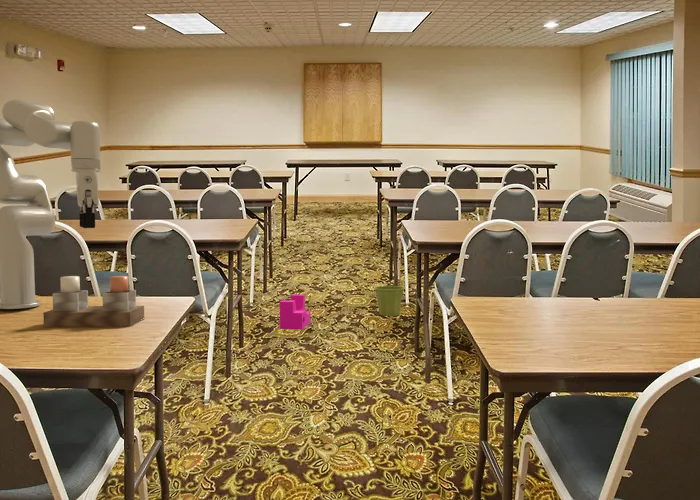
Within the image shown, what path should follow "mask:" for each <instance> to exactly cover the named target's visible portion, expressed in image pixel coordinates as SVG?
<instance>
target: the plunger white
mask: <svg viewBox="0 0 700 500" xmlns="http://www.w3.org/2000/svg"><path fill="white" fill-rule="evenodd" d="M80 279H81V278H80V275H79V276H78V275H68V276H67V275H65V276H61V277H60V281H59V282H60V291H61V293H78V292H80V290H81V284H80V283H81V281H80Z"/></svg>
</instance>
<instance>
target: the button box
mask: <svg viewBox="0 0 700 500" xmlns="http://www.w3.org/2000/svg"><path fill="white" fill-rule="evenodd" d="M101 296H102V305H89V290H87V289H86V290H85V289H84V290H83V289H82V290H81V289H80V292H78V293H61V290H60V291H57V292H53V293H52V309H50V310H47V311H45V312H43V327H45V328H72V327H73V328H75V327H76V328H82V327H83V328H92V327H95V328H97V327H101V328H102V327H103V328H104V327H109V328H111V327H115V328H116V327H117V328H119V327H132V326H134V325H136V324H138V323H139V321H140V320H141V319H143V318H144V319H145V305H137V290H136V289H129V292H127V293H110V290H108V291H105V292H103V293H102V295H101ZM144 319H143V320H144ZM140 322H141V321H140Z"/></svg>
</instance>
